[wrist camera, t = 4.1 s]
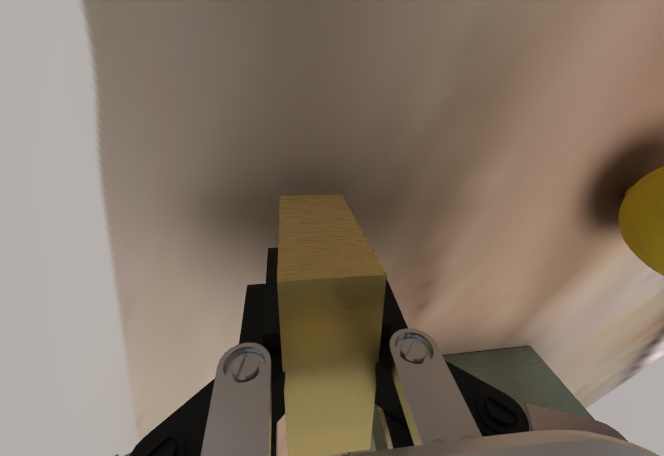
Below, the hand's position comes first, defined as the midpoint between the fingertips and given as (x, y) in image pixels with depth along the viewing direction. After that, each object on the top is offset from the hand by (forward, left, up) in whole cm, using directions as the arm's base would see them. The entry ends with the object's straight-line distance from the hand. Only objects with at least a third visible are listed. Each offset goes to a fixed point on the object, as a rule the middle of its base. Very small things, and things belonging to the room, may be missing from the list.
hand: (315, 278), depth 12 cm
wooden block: (0, 0, -2) cm, 2 cm away
